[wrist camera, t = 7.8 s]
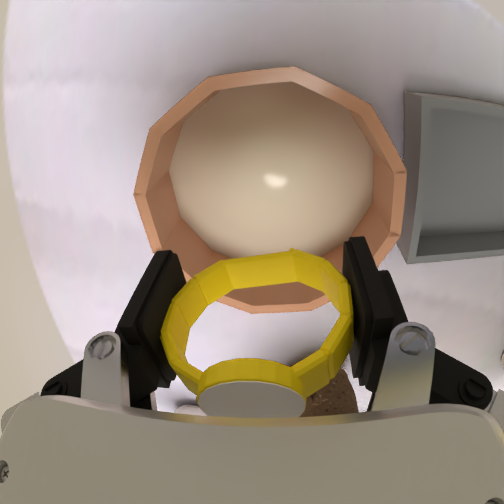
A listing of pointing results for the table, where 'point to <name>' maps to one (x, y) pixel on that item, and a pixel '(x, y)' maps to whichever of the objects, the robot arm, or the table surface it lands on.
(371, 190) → the bowl
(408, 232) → the parts tray
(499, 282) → the table surface
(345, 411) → the stone
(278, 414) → the watch
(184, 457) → the robot arm
